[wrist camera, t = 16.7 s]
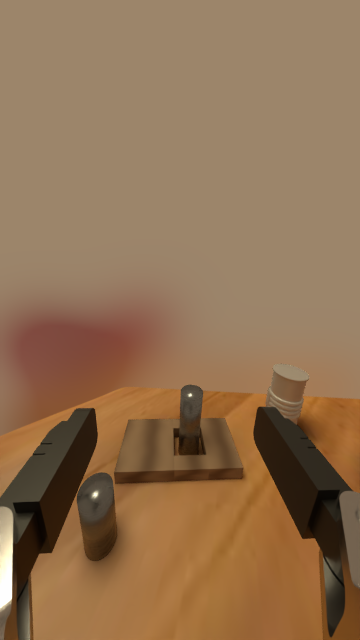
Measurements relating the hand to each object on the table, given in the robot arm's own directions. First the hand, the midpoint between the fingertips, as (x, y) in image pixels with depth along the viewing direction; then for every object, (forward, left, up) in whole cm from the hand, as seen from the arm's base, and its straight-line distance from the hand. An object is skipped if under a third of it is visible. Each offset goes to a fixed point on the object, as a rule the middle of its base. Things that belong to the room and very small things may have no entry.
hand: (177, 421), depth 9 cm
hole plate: (+2, +21, -28) cm, 35 cm away
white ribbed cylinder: (+26, +26, -28) cm, 46 cm away
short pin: (-9, +9, -28) cm, 31 cm away
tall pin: (+4, +21, -28) cm, 35 cm away
